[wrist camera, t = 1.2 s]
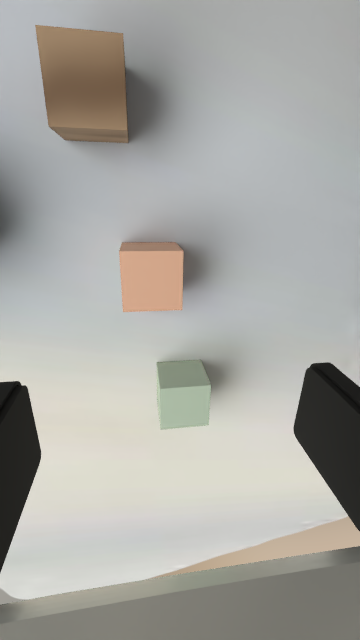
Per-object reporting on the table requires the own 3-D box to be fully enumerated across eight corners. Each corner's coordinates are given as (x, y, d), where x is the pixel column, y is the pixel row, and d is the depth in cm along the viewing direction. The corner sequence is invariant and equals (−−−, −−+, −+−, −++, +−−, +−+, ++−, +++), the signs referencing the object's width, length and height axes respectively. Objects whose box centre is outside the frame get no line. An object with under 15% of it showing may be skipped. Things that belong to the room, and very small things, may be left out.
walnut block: (56, 61, 22) (35, 24, 17) (125, 67, 22) (122, 33, 18) (65, 140, 23) (48, 126, 19) (128, 143, 24) (127, 130, 20)
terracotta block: (122, 242, 27) (119, 251, 22) (175, 242, 28) (183, 250, 23) (125, 294, 29) (123, 311, 24) (174, 292, 30) (182, 309, 25)
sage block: (156, 362, 32) (160, 388, 28) (200, 359, 33) (211, 385, 29) (157, 398, 34) (160, 429, 30) (198, 395, 35) (208, 425, 31)
